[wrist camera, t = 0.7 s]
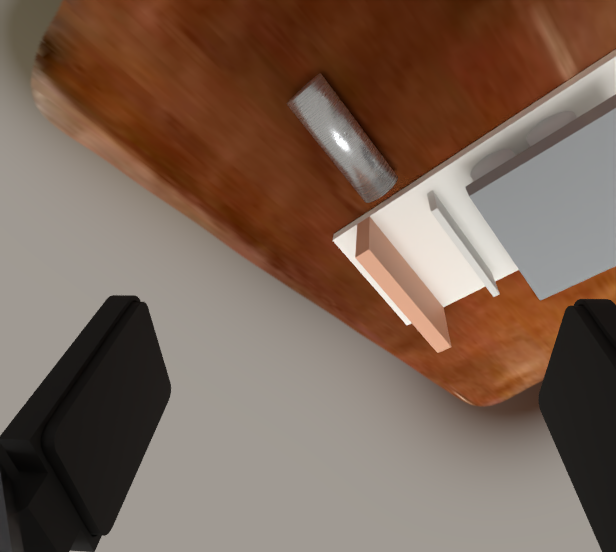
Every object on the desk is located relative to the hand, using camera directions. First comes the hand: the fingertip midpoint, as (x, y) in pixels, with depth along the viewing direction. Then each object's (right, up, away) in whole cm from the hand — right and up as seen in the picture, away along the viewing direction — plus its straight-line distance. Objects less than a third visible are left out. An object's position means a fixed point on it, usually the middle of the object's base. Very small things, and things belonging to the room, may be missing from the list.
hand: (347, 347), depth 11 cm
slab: (+16, +6, +19) cm, 26 cm away
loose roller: (+2, +12, +23) cm, 26 cm away
